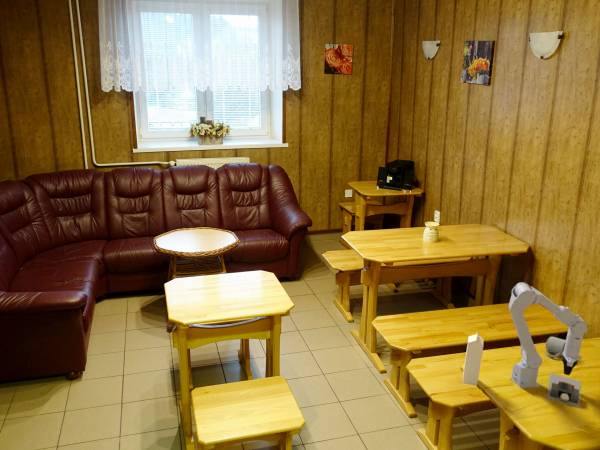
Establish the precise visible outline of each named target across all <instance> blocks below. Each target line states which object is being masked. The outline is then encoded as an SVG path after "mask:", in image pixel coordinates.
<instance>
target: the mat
mask: <svg viewBox="0 0 600 450" xmlns="http://www.w3.org/2000/svg"><path fill="white" fill-rule="evenodd" d="M559 381H561V382H565V383H569V384H573V385H574V389H578V390H579V398H578V403H573V402H570V395H569V401H568V402H562V401H561V399H560V397H561V393H560V392H558V397H557V398H555V397H552V396H550V392H551V386H552V383H555V384H558V382H559ZM581 382H582V381H581V380H578V379H574V378H570V377H566V376H561V375H559V374H554V373H551V372H550V374H549V380H548V387H547V394H546V399H548V400H551V401H555V402H558V403H562V404H565V405H568V406H572V407H577V408H579V409H580V408H581Z"/></svg>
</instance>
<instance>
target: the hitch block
mask: <svg viewBox="0 0 600 450" xmlns="http://www.w3.org/2000/svg"><path fill="white" fill-rule="evenodd" d="M559 391H563V392H566V393H570V402H573V403H578V398H579V390H578V389H574V388H572V386H571V385H568V384H564V383H560V384H555V383H552V386H551V392H550V396H552V397H555V398H557V397H558V392H559Z"/></svg>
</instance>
